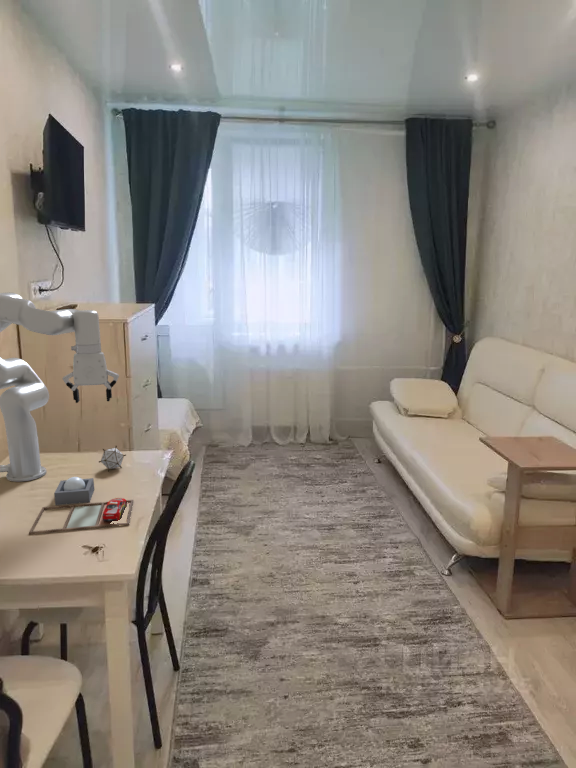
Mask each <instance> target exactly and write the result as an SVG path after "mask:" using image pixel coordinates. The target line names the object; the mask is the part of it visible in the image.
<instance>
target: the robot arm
mask: <svg viewBox="0 0 576 768" xmlns="http://www.w3.org/2000/svg"><path fill="white" fill-rule="evenodd" d="M99 316H100V315H99V313H98V312H97V311H96V310H93V309H82V310H80V309H79V310H78V309H74V308H66V309H55V310H46V309H40V308H37V307H36V305H35V303H34V302H32V301H31V300H29V299H25V298H23V297H22V296H21V295H19V294H18V293H15V292H9V291H8V292H0V333H1V332H3V331H5V330H6V329H7V328H8V327H9V326H11V325H12V324H15V325H17V326H22V327H23V328H24V329H26V330H27V331H29V332H33V333H37V334H42V335H46V336H59V335H64V334H70V333H74V337H75V339H74V340H75V345H74V346H73V345H72V346H70V351H75V353H74V355H73V363H72V364H73V365H72V369H73V370H72V372H70V373H68V374H66V375H65V376H63V377H62V380H63V382H64V384H65V386H66V387H68V388H69V389H70V390H71V391H72V395H73V396H72V397H73V401H75V404H78V403H79V402H80V391H79V388H78V387H79V386H100V385H104V387H106V389H105V393H106V394H105V395H106V401H107V402H110V401H111V399H112V398H113V395H112V388H113V387H114V386H115V385H116V384H117V383H118V382H117V381H118V380H119V377H120V374H119V373H116V372H114V371H111V370H109V369H108V366H107V361H106V357H105V352H103V351H102V344H101V341H102V340H101V331H100V329H101V328H100V319H99ZM109 376H110V377H112V378H113V379H112V381H111V382H110V381H109V380H108V379H109ZM71 378H73V383H74V384H73V383H72V382H71V381H70V379H71ZM9 387H10V388H9ZM7 388H8V389H7ZM2 389H6V390H4V391H3V392H2V394H0V412H1V414H2V417H3V421H4V427H5V433H6V441H7V442H6V443H7V451H8V459H9V463H7V464H0V473H6V477H5V478H6V480H7V481H11V482H16V483H17V482H20V483H21V482H28V481H33V480H36V479H39V478H42V477H44V476H45V475H46V474H47V468H46V467H45V466H42V463H41V456H40V455H41V454H40V453H41V452H40V445H39V436H38V429H37V423H36V420H35V419H34V416H32V414H31V411H34V410H37V409H40V408H41V407H44V406H45V405H47V403H48V402H49V400H50V391H49V389H48V387H47V386H46V384H45V383H44V382H43V380H42V379H41V378H40V377H39V375H38V374H37V373H36V372H35V370H34V368H32V367H31V366H30V365H29V363H28V362H26V361H25V360H23V359H22V358H18V357H10V358H2V357H1V356H0V390H2Z"/></svg>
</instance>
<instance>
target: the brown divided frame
mask: <svg viewBox="0 0 576 768" xmlns="http://www.w3.org/2000/svg"><path fill="white" fill-rule="evenodd" d="M126 500H127V502H129V503H127V504H130V508H129V514H128V519H127V523H117V524H114V523H113V524H110V523H111V522H112V521H107V522H105V521H103V518H102V516H103V512H104V510H105V508H106V506H107V504H108V503H106V502H107V501H101V502H90V503H78V504H66V505H54V506H43V507H41V510H40V511H39V513H38V515H37V516H36V518H35V521H34V522H33V524H32V526H31V528H30V529H29V531H28V535H39V534H50V533H60V532H71V531H80V530H81V531H82V530H83V531H84V530H90V529H91V530H94V529H103V528H113V527H112V526H116V527H120V526H119V525H127V526H130V524H129V523H130V522H131V518H132V517H131V516H132V512H131V511H133V507H134V506H133V505H134V499H126ZM132 506H133V507H132ZM68 508H69V509H70V510H69V512H68V515H67V517H66V519H65V521H64V524H63V526H62V528H54V529H44V530H43V529H42V530H35V528H36V526H37V525H38V523H39V521H40V519H41V518H42V515H43V513H44V511H46V510H57V509H68ZM130 517H131V518H130Z"/></svg>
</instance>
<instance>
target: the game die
mask: <svg viewBox="0 0 576 768" xmlns="http://www.w3.org/2000/svg"><path fill="white" fill-rule="evenodd" d="M114 446H115V447H113V448H108V449H105V448H102V451H103V453H102V456H101V459H100V460H99V461H98V463H101V464H102V465H104V467H106V468H107V472H108V473H109V472H110V471H111V470H112V469H117V468H120V469H122V468H123V467H122V463H123V460H124V457H126V456H127V454H123V452H121V451H120V450H119V449H118V446H117V445H114Z"/></svg>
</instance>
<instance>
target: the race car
mask: <svg viewBox="0 0 576 768" xmlns="http://www.w3.org/2000/svg"><path fill="white" fill-rule="evenodd" d="M127 500H128V499H125V498H124V497H115V498H112V499H110V500H109V501H105V502H106V503H108V504H106V505H107V506H106V508H105V510H104V512H103V511H102V513H103V516H102V515H101V516H102V518H103V521H105V522H107V521H118V520H120V519H121V518H122V515H123V513H124V510H125V508H126V507H127Z"/></svg>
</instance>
